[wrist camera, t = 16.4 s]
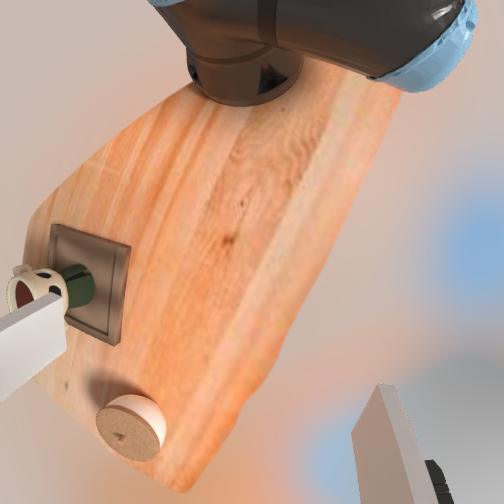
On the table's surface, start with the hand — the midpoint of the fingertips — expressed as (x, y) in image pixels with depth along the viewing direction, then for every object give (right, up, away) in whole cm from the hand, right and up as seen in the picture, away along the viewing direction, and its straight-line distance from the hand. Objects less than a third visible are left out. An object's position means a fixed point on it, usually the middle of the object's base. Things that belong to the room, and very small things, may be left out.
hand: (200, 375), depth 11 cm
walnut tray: (-24, 0, +31) cm, 39 cm away
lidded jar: (-15, -21, +32) cm, 42 cm away
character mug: (-24, 0, +30) cm, 38 cm away
